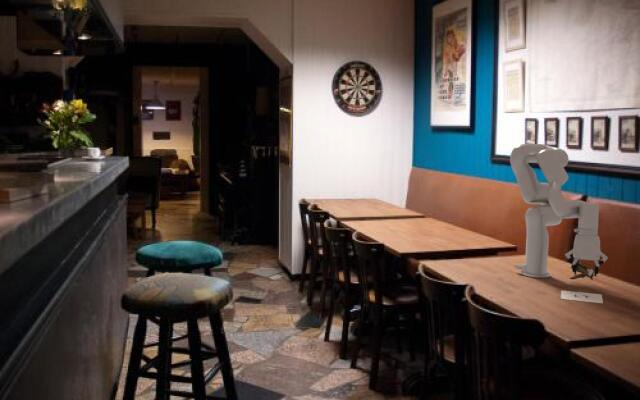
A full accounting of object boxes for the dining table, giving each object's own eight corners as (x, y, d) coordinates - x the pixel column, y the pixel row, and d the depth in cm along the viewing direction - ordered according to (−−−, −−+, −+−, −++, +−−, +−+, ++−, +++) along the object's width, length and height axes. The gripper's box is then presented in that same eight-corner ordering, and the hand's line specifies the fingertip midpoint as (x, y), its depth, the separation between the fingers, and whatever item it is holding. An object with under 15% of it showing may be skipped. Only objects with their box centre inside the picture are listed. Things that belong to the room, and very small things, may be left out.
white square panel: (560, 298, 246) (560, 298, 246) (561, 290, 258) (561, 290, 258) (602, 303, 240) (602, 303, 240) (601, 294, 253) (601, 294, 253)
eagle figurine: (591, 274, 266) (569, 269, 269) (596, 263, 262) (573, 257, 264) (590, 287, 261) (568, 282, 263) (595, 275, 256) (572, 270, 259)
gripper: (564, 232, 260) (562, 274, 262) (611, 235, 253) (608, 278, 255) (565, 229, 267) (562, 271, 269) (610, 232, 260) (607, 275, 262)
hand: (585, 274), depth 262 cm, fingers closed on eagle figurine, 7 cm apart
